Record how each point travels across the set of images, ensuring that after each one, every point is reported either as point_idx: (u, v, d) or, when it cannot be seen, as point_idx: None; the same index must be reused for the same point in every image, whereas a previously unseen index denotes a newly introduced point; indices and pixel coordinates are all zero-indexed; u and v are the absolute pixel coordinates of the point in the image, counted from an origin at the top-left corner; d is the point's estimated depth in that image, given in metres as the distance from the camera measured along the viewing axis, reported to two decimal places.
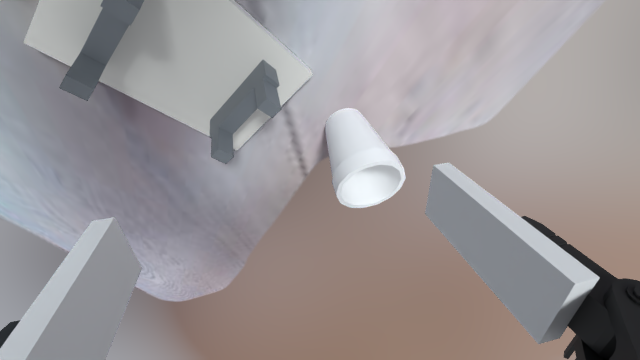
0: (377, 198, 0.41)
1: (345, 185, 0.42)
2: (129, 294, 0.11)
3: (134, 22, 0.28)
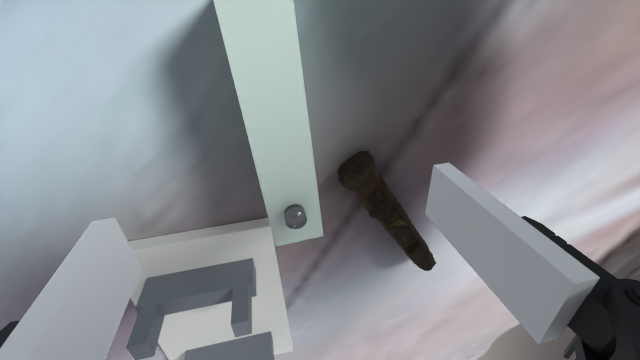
0: None
1: None
2: (128, 294, 0.11)
3: None
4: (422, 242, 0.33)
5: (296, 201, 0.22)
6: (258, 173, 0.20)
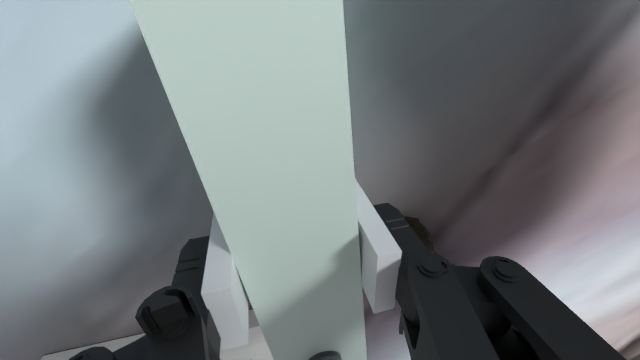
0: None
1: None
2: None
3: None
4: None
5: (327, 348, 0.12)
6: (260, 321, 0.11)
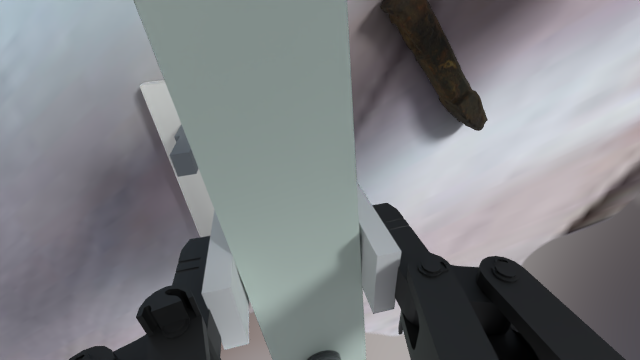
0: None
1: None
2: None
3: None
4: (473, 91, 0.31)
5: (326, 347, 0.12)
6: (260, 320, 0.11)
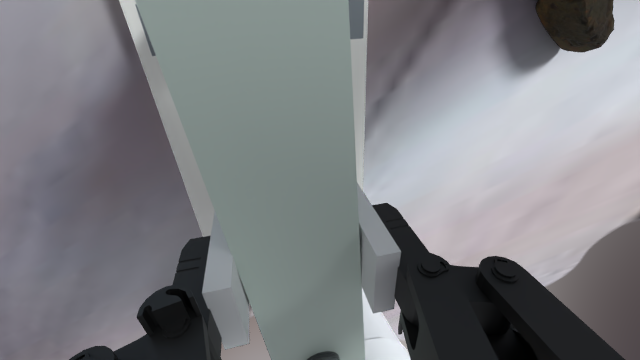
0: None
1: None
2: None
3: None
4: None
5: (325, 348, 0.12)
6: (259, 321, 0.11)
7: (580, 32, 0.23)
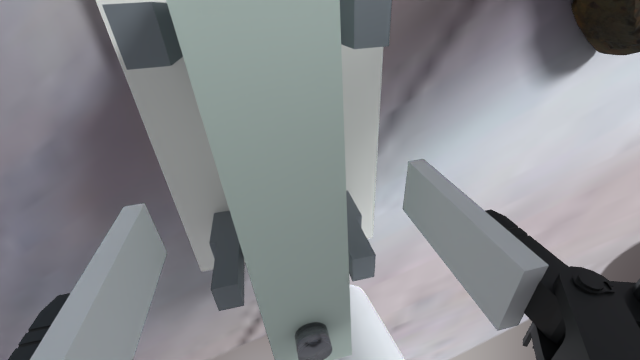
0: None
1: None
2: (157, 276, 0.12)
3: None
4: None
5: (315, 319, 0.14)
6: (255, 288, 0.12)
7: (625, 34, 0.21)
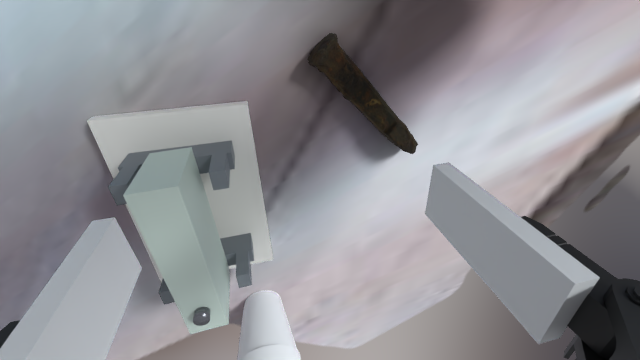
0: None
1: None
2: (128, 294, 0.11)
3: None
4: (400, 121, 0.36)
5: (202, 305, 0.30)
6: (170, 291, 0.28)
7: (398, 146, 0.38)
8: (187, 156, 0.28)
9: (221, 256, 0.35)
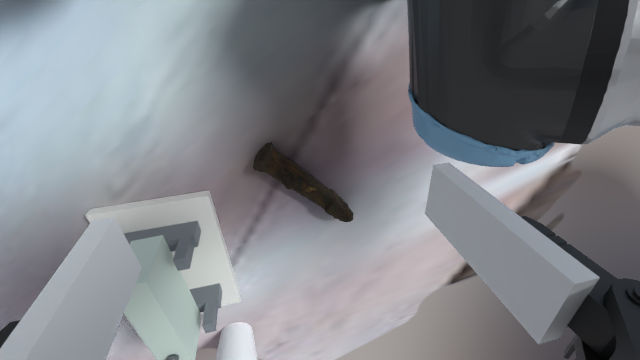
0: None
1: None
2: (128, 294, 0.11)
3: None
4: (334, 200, 0.44)
5: (172, 353, 0.39)
6: (147, 345, 0.38)
7: None
8: (157, 246, 0.37)
9: (191, 309, 0.45)
